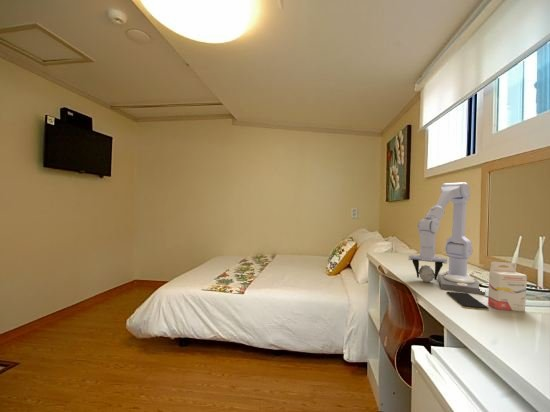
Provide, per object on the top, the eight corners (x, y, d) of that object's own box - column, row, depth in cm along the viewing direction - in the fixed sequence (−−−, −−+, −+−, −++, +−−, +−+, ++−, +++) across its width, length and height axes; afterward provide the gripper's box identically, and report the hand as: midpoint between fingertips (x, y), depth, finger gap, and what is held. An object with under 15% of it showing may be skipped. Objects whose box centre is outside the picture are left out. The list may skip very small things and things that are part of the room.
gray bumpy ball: (430, 279, 124) (430, 264, 123) (437, 284, 117) (438, 267, 116) (415, 279, 124) (416, 263, 124) (422, 283, 117) (423, 267, 117)
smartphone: (464, 305, 91) (445, 291, 105) (463, 309, 91) (445, 294, 105) (489, 308, 89) (467, 293, 104) (489, 311, 89) (467, 296, 104)
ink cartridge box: (497, 310, 90) (499, 264, 89) (487, 304, 95) (488, 261, 94) (526, 311, 89) (528, 265, 89) (514, 305, 94) (516, 262, 94)
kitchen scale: (437, 278, 125) (438, 272, 125) (475, 283, 119) (475, 276, 119) (442, 288, 111) (442, 281, 111) (485, 294, 105) (485, 287, 105)
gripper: (408, 246, 119) (408, 278, 120) (448, 249, 113) (447, 282, 113) (408, 244, 126) (407, 274, 126) (446, 247, 119) (445, 278, 120)
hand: (426, 278), depth 120 cm, fingers closed on gray bumpy ball, 6 cm apart
